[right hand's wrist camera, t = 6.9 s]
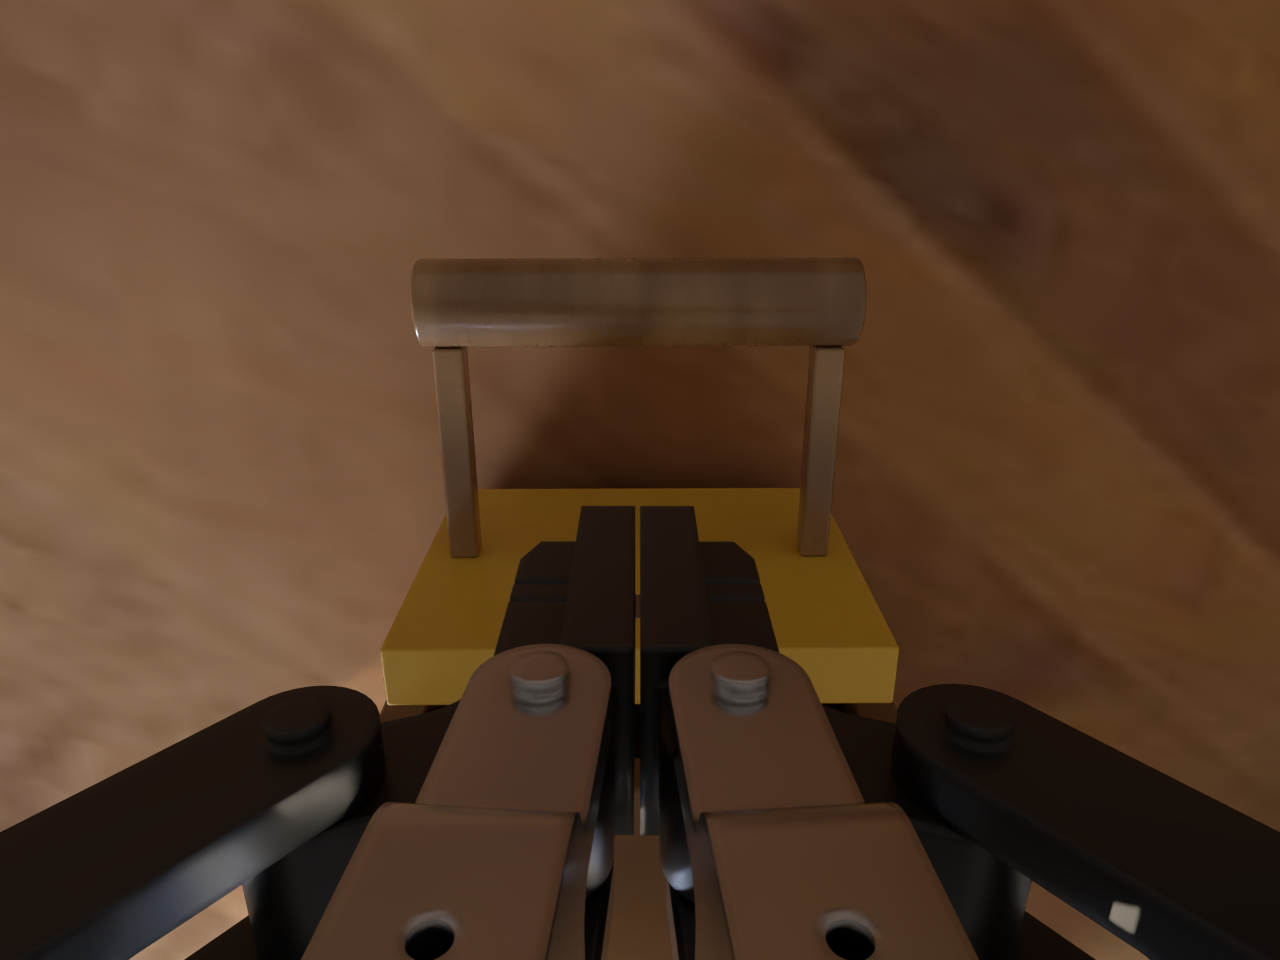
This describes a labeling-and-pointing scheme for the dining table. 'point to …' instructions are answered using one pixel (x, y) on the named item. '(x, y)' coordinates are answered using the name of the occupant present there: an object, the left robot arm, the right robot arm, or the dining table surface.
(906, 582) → the dining table surface
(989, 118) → the dining table surface
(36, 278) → the dining table surface
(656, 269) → the drawer
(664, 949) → the cabinet
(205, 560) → the dining table surface
